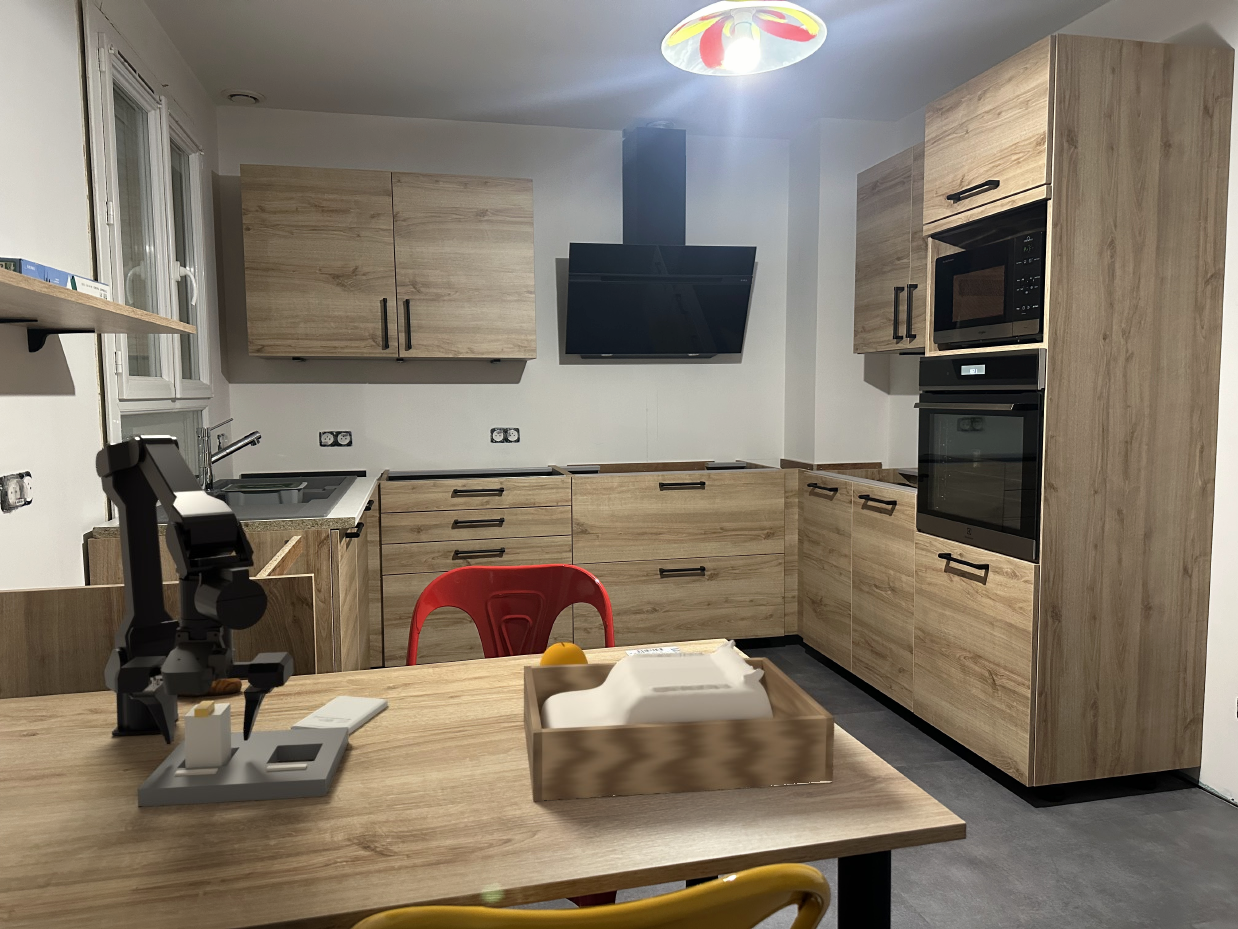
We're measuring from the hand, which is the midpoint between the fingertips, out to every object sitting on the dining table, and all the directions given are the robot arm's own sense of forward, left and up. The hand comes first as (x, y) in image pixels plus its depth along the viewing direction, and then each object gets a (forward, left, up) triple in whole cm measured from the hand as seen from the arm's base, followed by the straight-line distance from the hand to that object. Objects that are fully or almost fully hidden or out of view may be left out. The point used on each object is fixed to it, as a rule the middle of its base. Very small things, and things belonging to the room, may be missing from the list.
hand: (208, 741), depth 101 cm
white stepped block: (+55, -2, -4) cm, 55 cm away
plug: (0, 0, -4) cm, 4 cm away
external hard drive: (+13, +17, -5) cm, 22 cm away
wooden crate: (+57, 0, -4) cm, 57 cm away
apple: (+46, +26, -4) cm, 53 cm away
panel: (+5, 0, -4) cm, 6 cm away
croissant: (-11, +31, -4) cm, 34 cm away
